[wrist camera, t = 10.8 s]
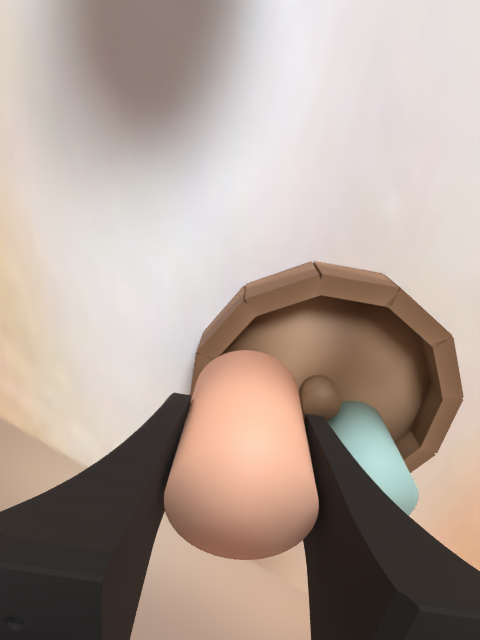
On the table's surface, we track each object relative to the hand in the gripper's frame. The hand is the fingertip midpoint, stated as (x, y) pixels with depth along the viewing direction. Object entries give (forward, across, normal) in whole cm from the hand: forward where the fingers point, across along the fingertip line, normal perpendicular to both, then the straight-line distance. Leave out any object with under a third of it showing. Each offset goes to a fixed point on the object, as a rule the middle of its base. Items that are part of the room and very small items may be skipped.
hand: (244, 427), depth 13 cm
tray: (+8, -4, +3) cm, 10 cm away
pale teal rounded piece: (+8, -7, +5) cm, 11 cm away
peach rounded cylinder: (+2, 0, 0) cm, 2 cm away
